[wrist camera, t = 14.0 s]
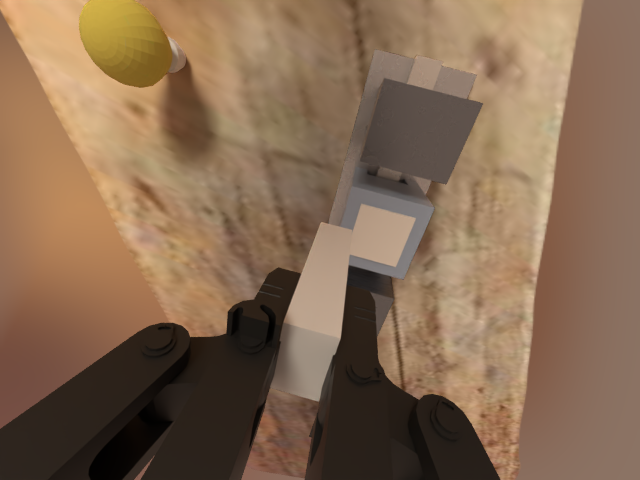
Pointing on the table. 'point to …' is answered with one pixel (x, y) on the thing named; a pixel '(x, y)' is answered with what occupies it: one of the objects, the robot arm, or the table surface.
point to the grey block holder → (405, 138)
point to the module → (384, 222)
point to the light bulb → (128, 42)
